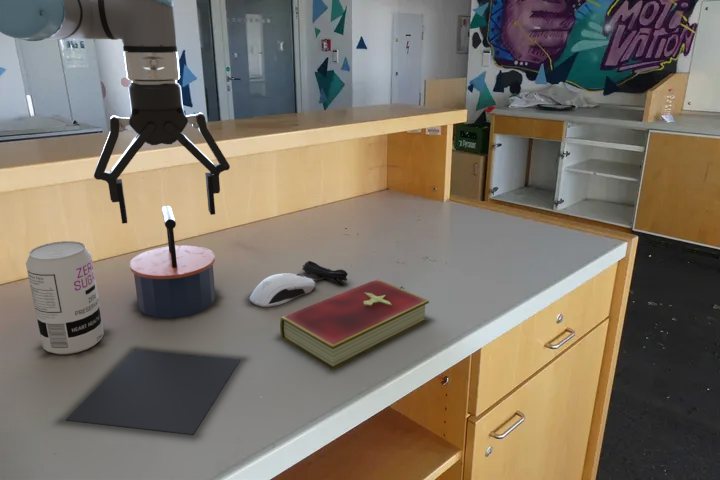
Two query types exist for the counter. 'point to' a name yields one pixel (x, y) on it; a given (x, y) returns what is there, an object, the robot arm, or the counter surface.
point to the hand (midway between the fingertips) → (169, 216)
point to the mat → (157, 392)
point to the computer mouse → (291, 285)
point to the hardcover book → (353, 322)
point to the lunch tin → (175, 295)
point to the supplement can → (65, 296)
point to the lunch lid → (171, 257)
